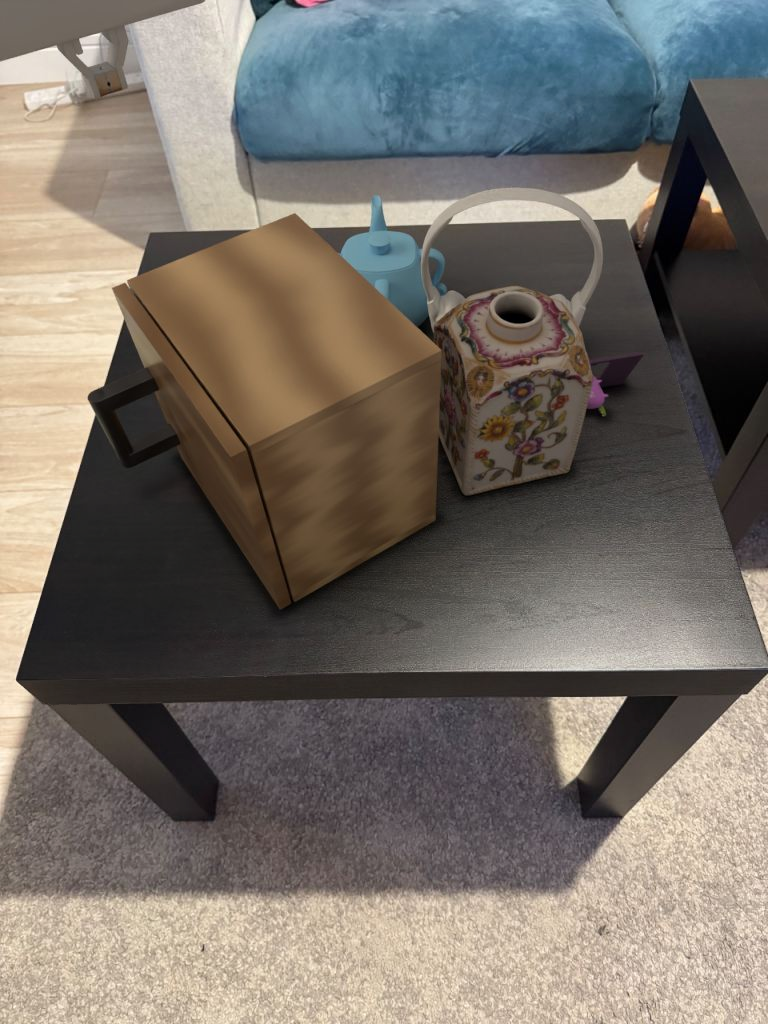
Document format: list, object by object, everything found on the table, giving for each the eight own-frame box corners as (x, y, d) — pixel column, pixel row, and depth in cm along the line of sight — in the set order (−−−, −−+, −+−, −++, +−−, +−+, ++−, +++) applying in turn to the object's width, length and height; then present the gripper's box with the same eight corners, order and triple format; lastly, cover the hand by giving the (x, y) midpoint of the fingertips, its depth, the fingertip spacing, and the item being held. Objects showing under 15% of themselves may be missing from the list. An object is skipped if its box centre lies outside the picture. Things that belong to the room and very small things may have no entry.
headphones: (422, 329, 88) (424, 170, 72) (577, 335, 86) (614, 173, 70) (418, 371, 84) (418, 212, 68) (581, 378, 82) (621, 217, 66)
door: (222, 643, 65) (150, 496, 47) (129, 482, 76) (42, 315, 58) (291, 603, 67) (246, 449, 49) (191, 452, 78) (125, 282, 60)
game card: (641, 344, 75) (557, 358, 75) (655, 390, 74) (570, 404, 73) (619, 374, 82) (542, 387, 81) (632, 417, 80) (553, 430, 80)
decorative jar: (428, 417, 80) (431, 278, 65) (529, 395, 81) (554, 254, 66) (462, 501, 73) (474, 368, 58) (572, 476, 74) (610, 339, 60)
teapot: (377, 370, 85) (377, 292, 76) (300, 308, 91) (291, 229, 81) (454, 320, 90) (462, 241, 80) (376, 265, 95) (376, 185, 86)
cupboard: (294, 602, 67) (249, 445, 49) (193, 452, 78) (126, 280, 60) (435, 520, 72) (442, 350, 54) (321, 390, 83) (295, 212, 65)
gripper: (162, -166, 53) (206, 43, 65) (-130, -105, 47) (-24, 114, 59) (198, -148, 50) (238, 68, 61) (-109, -79, 44) (-2, 146, 55)
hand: (108, 91), depth 60 cm, fingers closed
